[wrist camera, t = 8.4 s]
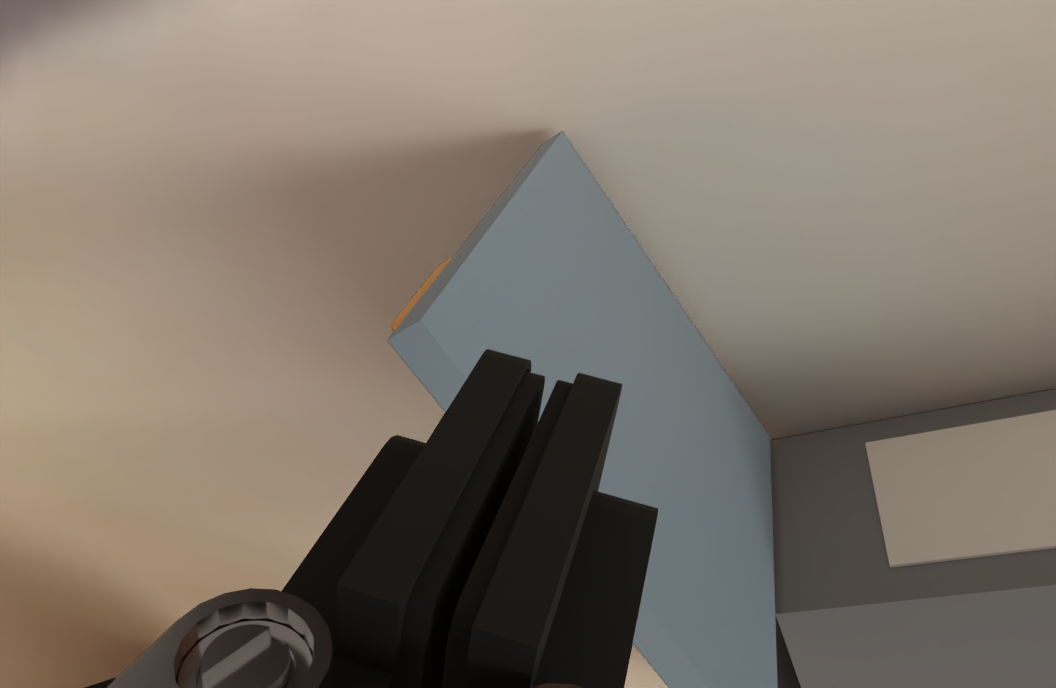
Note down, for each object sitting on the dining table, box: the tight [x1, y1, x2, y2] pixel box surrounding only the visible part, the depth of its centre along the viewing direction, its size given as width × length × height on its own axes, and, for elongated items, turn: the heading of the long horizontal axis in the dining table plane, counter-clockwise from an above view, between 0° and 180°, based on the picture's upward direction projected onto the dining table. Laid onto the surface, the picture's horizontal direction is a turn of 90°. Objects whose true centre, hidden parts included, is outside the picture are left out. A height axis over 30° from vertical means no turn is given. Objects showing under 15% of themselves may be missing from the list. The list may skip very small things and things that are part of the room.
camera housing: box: [770, 389, 1056, 688], centre depth 25 cm, size 18×12×8 cm, turn 112°
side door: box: [387, 131, 778, 688], centre depth 22 cm, size 12×2×12 cm, turn 36°
